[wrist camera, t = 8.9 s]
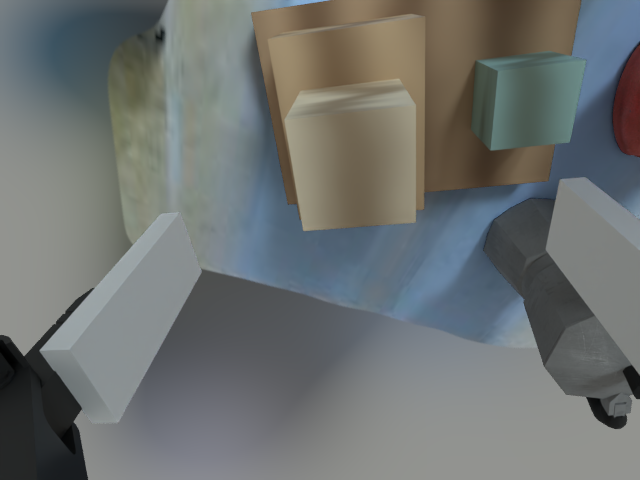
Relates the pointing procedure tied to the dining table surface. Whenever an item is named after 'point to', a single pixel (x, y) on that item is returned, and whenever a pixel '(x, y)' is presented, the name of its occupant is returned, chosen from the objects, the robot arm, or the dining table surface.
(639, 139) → the stacking bear
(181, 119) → the dining table surface
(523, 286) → the coffeepot
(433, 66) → the base
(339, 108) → the oak block
